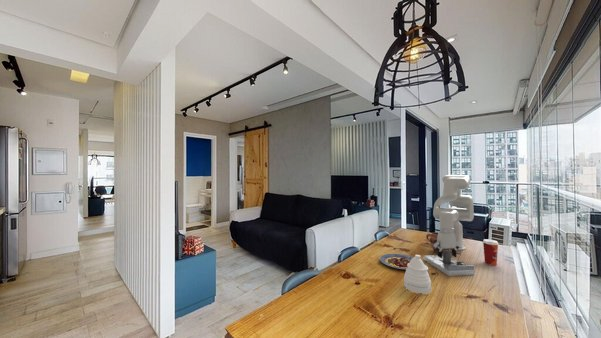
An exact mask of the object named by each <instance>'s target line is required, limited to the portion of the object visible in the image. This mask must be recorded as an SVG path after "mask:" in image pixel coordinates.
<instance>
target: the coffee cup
mask: <svg viewBox="0 0 601 338" xmlns="http://www.w3.org/2000/svg"><path fill="white" fill-rule="evenodd" d="M482 243H483V244H482V245H483V255H484V263H485V265H488V266H489V265H490V266H497V264H498V252H499V251H498V250H499V249H498V248H499V242H498V241H497V240H494V239H487V238H486V239H485V238H484V239H483V241H482Z"/></svg>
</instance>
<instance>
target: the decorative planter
mask: <svg viewBox="0 0 601 338" xmlns="http://www.w3.org/2000/svg"><path fill="white" fill-rule="evenodd" d="M438 232H439V231H435V232H432V233H427V234H426V235H425V236H426V237H425V238H426V240H427V241H428V242H429V243H430V245H431V246H432V249H433V251H434V252H435V253H437V250H436V249H435V247H434V245H433V244H435V243H436V242H437V237H438ZM429 237H430V238H429ZM437 247H438V246H437ZM443 250H448V251H450V248H449V249H442V251H441V252H442V255H443Z"/></svg>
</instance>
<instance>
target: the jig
mask: <svg viewBox="0 0 601 338" xmlns="http://www.w3.org/2000/svg"><path fill="white" fill-rule="evenodd" d="M423 261H424V262H426V261H427V263H428V264H429V263H430V264H429V265H431V266H433V267H434V268H435V269H437V270H439V271H440V272H442V273H444V274H445V275H446V276H449V277H455V276H457V277H459V276H475V265H474V264H466V263H465V262H464V261H460V260H459V261H458V260H457V259H455V258H453V257H451V264H445V263H443V254H442V258H440V257H438V254H433V255H431V254H430V255H427V254H426V255H423Z"/></svg>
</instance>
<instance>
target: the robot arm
mask: <svg viewBox="0 0 601 338" xmlns="http://www.w3.org/2000/svg"><path fill="white" fill-rule="evenodd" d="M442 182H443V187H442V188H443V189H442V195H441V196H440V197H438V198H437V199H436V200H435V202H434V205H433V209H432V210H433V213H432V215H433V217H434V218H435V219H437V220H439V231H437V232H438V237H437V242H436V243H435V244H433V245H434V247H435V249H436V250H437V252H436V255H438V257H440V258H442V255H443V254H442V252H441V251H442V249H449V250H450V249H451V257H454V258H457V251H463V250H466V246H465V245H463V244H464V243H463V242H464V239H463V237H464V236H463V235H464V234H463V224H462V223H461V222H460V221H465V222H473V220H474V218H475V214H474V209H475V208H474V198H473V197H472V196H471V195H468V194H467V195H466V194H462V191H463V190H468V189H469V188H470V185H471V177H470V175H466V174H459V175H458V174H446V175H443V176H442ZM447 203H448V205H449V206H450V207H448V208H442V207H441V206H442V205H444V204H447ZM437 246H438V247H437Z"/></svg>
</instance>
